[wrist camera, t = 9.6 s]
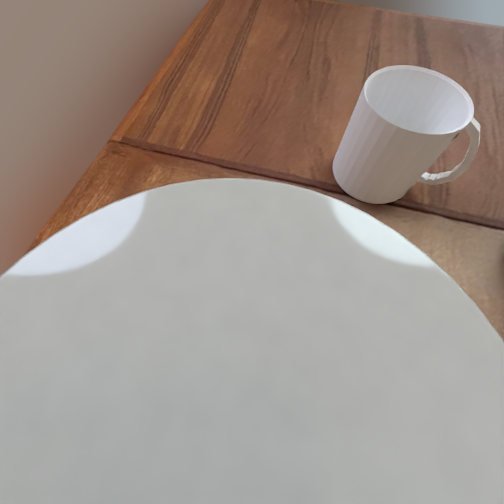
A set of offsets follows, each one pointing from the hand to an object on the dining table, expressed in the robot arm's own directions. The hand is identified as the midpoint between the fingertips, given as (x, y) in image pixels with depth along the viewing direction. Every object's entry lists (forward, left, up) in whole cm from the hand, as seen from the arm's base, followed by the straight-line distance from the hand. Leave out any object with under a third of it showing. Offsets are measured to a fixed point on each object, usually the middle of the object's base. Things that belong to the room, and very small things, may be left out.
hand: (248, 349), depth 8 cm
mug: (+8, -24, -15) cm, 29 cm away
